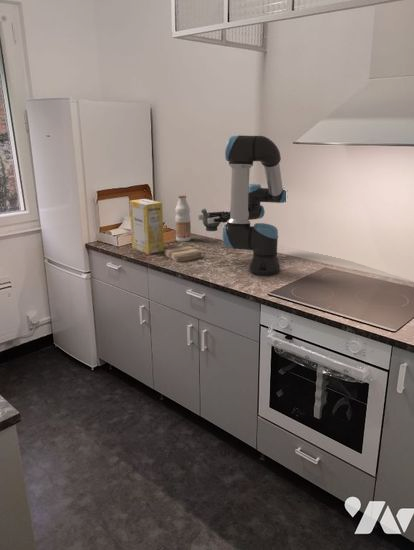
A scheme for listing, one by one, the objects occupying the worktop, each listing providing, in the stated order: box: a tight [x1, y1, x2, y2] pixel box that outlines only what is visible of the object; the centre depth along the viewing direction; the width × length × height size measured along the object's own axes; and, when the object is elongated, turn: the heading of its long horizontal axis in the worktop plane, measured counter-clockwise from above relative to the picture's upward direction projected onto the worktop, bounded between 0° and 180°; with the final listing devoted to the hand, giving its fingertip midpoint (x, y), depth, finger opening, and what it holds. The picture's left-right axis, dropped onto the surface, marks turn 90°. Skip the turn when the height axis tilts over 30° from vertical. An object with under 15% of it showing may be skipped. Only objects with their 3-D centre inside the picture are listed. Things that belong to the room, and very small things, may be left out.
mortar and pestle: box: [200, 208, 221, 232], centre depth 242 cm, size 11×9×12 cm
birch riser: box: [164, 245, 202, 263], centre depth 252 cm, size 15×15×4 cm
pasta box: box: [128, 198, 165, 255], centre depth 264 cm, size 18×10×28 cm, turn 39°
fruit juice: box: [174, 194, 192, 242], centre depth 284 cm, size 9×9×28 cm
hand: (203, 219), depth 240 cm, fingers closed on mortar and pestle, 10 cm apart
